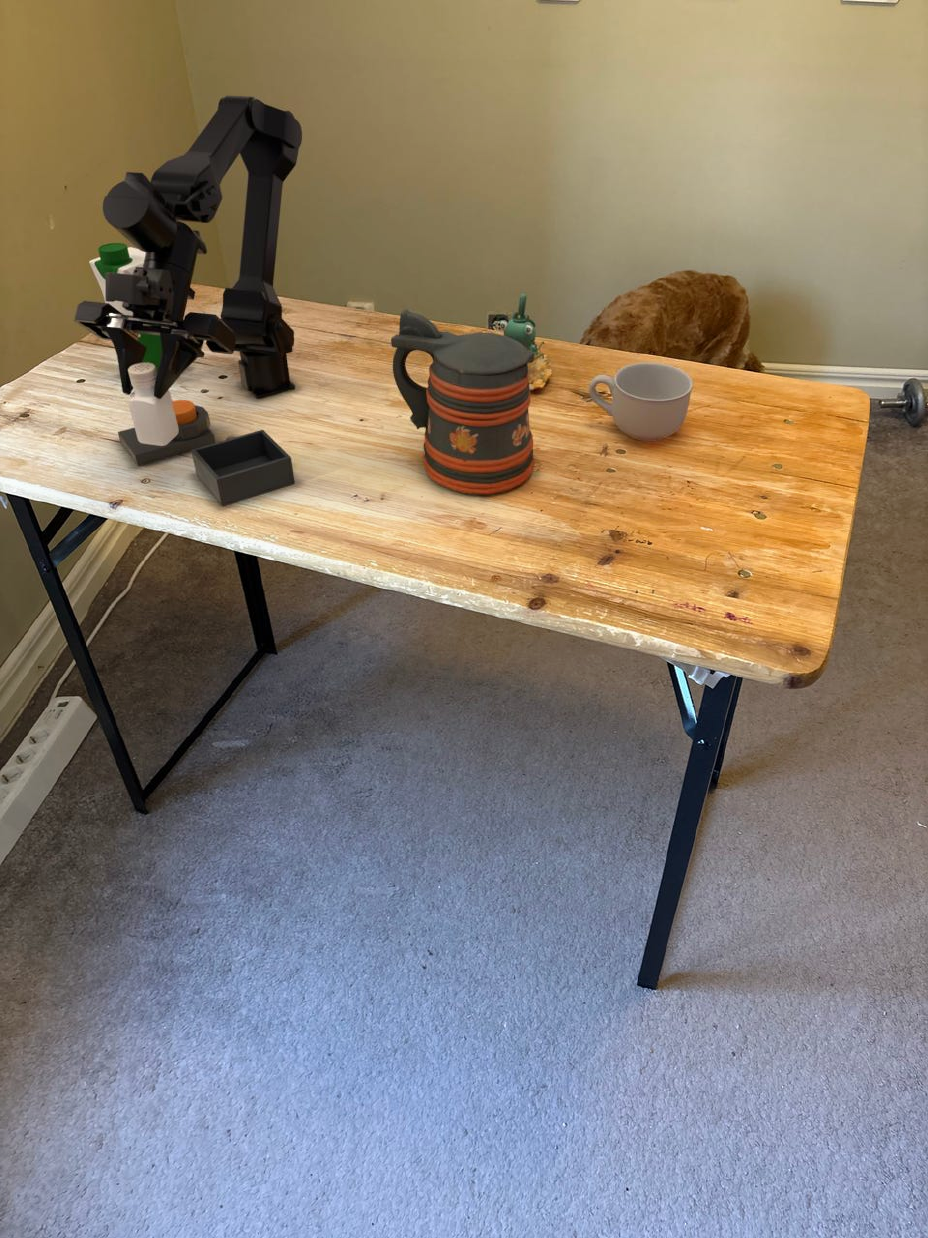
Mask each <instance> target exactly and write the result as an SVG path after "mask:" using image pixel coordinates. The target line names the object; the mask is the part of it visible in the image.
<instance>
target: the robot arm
mask: <svg viewBox="0 0 928 1238" xmlns="http://www.w3.org/2000/svg"><path fill="white" fill-rule="evenodd" d="M302 142H303V131H302V126H301V123H300V121H299V120H298V119H296V118H295V116H294V114H293V113H292V112H291V111H289V110H283V109H280V108H278V107H274V106H271V105H269V104H266V103H264V102H263V101H261V100H260V99H257V98H255V97H254V96H249V95H248V96H245V95H225V96H224V97H223V96H222V97H221V98H220V99H219V101H218V106H217V110H216V111H215V112H214V114H213V115H212V117H211V118H210V120H209V121H208V122H207V124H205V126H204V128H203V129H202V131H201V132H200V134H199V135H198V136H197V137H196V139H195V140H194V142H193V143H192V145H191V146H190V147H189V148H188V150H187V151H186V152H185V153H184V154H182V155H179V156H177V157H174V158H171V159H168V160H167V161H165V162H164V163H163V164H162V165H160V167H158V168H157V169H155V171H154V172H153V174H152V176H151V178H150V179H149V178H148V177H147V176H146V175H145V173H143V172H139V171H138V172H137V171H126V172H125V177H124V180H122V181H121V182H118V183H116V184H115V185H114V186H113V187H112V188H111V189H110V190H109V191H108V192H107V195H105V196H104V198H103V202H102V214H103V216H104V218H105V220H106V221H107V223H108V224H109V225H111V226H112V227H113V228H114V229H115V230H116V231H117V232H118V233H119V234H121V236H123V237H124V238H125V239H126V240H127V241H128V242H129V243H130V244H131V245H133V247H134V248H136V249H139V250H140V251H143V252H146V254H145V259H144V264H143V267H136V268H135V269H134V270H133V275H130V274H120V273H110V272H105V300H104V302H100V301H90V300H83V301H81V302H80V303H78V304H77V307H76V309H75V313H74V318H73V322H75V323H76V324H78V325H79V326H81V327H82V328H83V329H84V330H87V332H89V333H91V334H93V335H94V336H96V338H98V339H101V340H104V341H111V342H112V344H113V347H114V351H115V355H116V359H117V364H118V371H119V378H120V384H121V391H122V392H123V394H125V395H126V396H130V395H131V394H132V393H133V391H134V388H133V386H132V384H131V379H130V377H129V373H128V369H129V367H130V366H132V365H134V364H138V363H142V362H143V359H144V356H145V353H146V350H147V347H146V346H144V345H143V344H141V343H140V342H139V341H138V338H139V337H138V336H139V333H143V334H152V335H160V337H161V344H162V354H161V359H160V363H159V368H158V372H157V377H156V381H155V388H154V397H156V398H157V399H161V398H162V397H163V396H164V395H165V393H166V392H167V391H170V389H171V388H172V386H173V385H174V384H175V382H176V381H177V380H178V379H179V378H180V376H181V375H182V374H183V373H184V372H185V371H186V370H187V369H188V368H189V367H190V366H191V365H192V364H193V363H194V362H195V361H196V360H197V359H198V358H200V359H201V358H204V357H205V354H206V353H205V351H203V346H204V341H205V345H206V347H207V348H208V349H209V351H210V352H211V353H215V354H223V355H233V354H234V352H239V356H240V359H238V361H237V365H238V371H239V376H240V377H239V378H240V384H241V386H242V387H243V389H245V390H246V391H247V392H249V393H250V394H251V395H252V396H253V397H254V398H255V399H261V398H265V397H269V396H272V395H273V396H274V395H277V394H280V393H285V392H288V391H292V390H295V389H296V385H295V384H294V382H292V381H291V377H290V369H289V362H288V355H287V354H291V353H292V352H294V351H293V350H294V349H293V347H294V346H295V331H294V329H292V327H291V326H290V325H289V324H288V323H287V322H286V321H285V319H283V305H282V303H281V301H280V299H279V296H278V295H277V292H276V290H275V288H274V280H275V279H274V278H275V270H276V269H275V268H276V260H277V259H276V258H277V248H278V237H279V228H280V217H281V206H282V197H283V196H282V195H283V185H284V182H285V181H286V179H287V178H288V177H289V175H290V173H291V172H292V171H293V170H294V168H295V167H296V165H297V162H298V156H299V151H300V147H301V145H302ZM239 155H240V157H241V160H242V162H243V164H244V167H245V169H246V171H247V182H246V183H247V185H246V193H245V194H246V195H245V205H244V206H245V207H244V217H243V230H242V239H241V250H240V262H239V271H238V279H237V281H236V282H234V284H233V286H232V287H225V289H224V290H223V293H222V307H221V311H220V316H218V315H216V314H215V313H214V314H212V313H205V312H195V311H190V312H188V313H186V309H187V304H188V300H193V301H194V300H195V295H196V291H195V290H194V289H193V288H192V287H191V285H192V280H193V276H194V272H195V267H196V262H197V257H198V254H199V255H206V254H207V253H208V250H207V246H206V243H205V242H204V241H203V239H202V237H201V232H200V231H199V230H194V229H192V228H191V227H190V226H189V225H188V224H187V223H185V222H189V223H201V224H202V223H203V224H208V223H210V222H212V220H214V218H215V216H216V214H217V212H218V209H219V207H220V205H221V202H222V200H223V193H222V188H221V184H222V181H223V179H224V178H225V176H226V174H227V173H228V171H229V170H230V169H231V167H232V166H233V164H234V163H235V161H236V159H237V158H238V157H239ZM105 301H108V302H114V301H121V302H123V303H122V307H123V308H125V309H126V310H127V311H131V312H133V316H130V315H123V314H122V313H121V312H119V311H118V310H117V309H115V308H114V307H113V306H111V305H110V304H109V303H105ZM185 314H186V315H185ZM143 325H146V326H143Z"/></svg>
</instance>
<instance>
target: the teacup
mask: <svg viewBox="0 0 928 1238" xmlns="http://www.w3.org/2000/svg"><path fill="white" fill-rule="evenodd" d="M599 384H604V385H606V386H607V387H608V389H609V394H610V396H611V402H609V401H608V400H605V399H604V398H602V397H601V396H600V395H599V394H598V392H597V390H596V388H597V386H598V385H599ZM693 389H694V381H693V379H692V377H691V375H689V374H688V373H687V372H686V371H684V370H682V369H681V368H678V367H676V366H674V365H670V364H668V363H667V364H666V363H663V362H653V361H651V362H650V361H649V362H647V361H644V362H643V361H642V362H635V363H632V364H631V363H630V364H628V365H624V366H622V367H621V368H620V369H618V370H617V371H616V373H615V374H614V377H613V378H612V377H611V376H610V375H607V374H598V375H595V376H594V377H593V378H592V379H591V380H590V382H589V384H588V395H589V397H590V399H591V400H592V402H593V403H594V404H596V405H597V406H598V407H600V408H601V409H603V411H606V414H607V415H608V416H609V417H612V421H613V422H614V424H615V426H616V427H617V428H618V429H619V430H621V431H622V433H624V434H625V435H626V436H628V437H630V438H632V439H634V440H637V441H642V442H657V441H660V440H663V439H666V438H667V437H669V436H672V435H673V434H675V433H676V432H678V431H679V430H680V429H681V427H682V426H683V425H684V423H685V421H686V417H687V414H688V410H689V406H690V401H691V394H692V391H693Z"/></svg>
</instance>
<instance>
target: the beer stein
mask: <svg viewBox="0 0 928 1238" xmlns="http://www.w3.org/2000/svg"><path fill="white" fill-rule="evenodd" d="M398 328H399V329H398V330H399V331H398V333H397V334H395V335H393V336H392V337H391V338H390V343H391V347H392V348H395V352H394V354H393V358H392V374H393V378H394V382H395V384H396V387H397V389H398V391H399V393H400V395H401V396H402V398H403V401H404V402H405V403H406V405H407V406H408V408H409V410H410V411H411V416H409V420H410V422H411V423H412V424H413V425H414V426H415V427H416V429H417V430H420V428H424V429H425V430H424V437H423V438H424V443H423V452H424V454H423V466H424V467H423V468H424V470H425V471H426V474H427V475H428V477H429V478H430V479H431V480H432V481H433V483H436V484H437V485H439V486H441V487H443V488H446V489H447V490H451V491H454V492H458V493H462V494H468V495H475V496H486V495H496V494H500V493H504V492H508V491H510V490H512V489H516V488H518V487H519V486H521V485H522V484H524V483H525V482H527V481H528V479H529V478H530V477H531V476H532V474H533V472H534V471H533V470H534V468H535V461H534V459H535V458H534V449H533V448H534V436H533V433H532V431H531V429H530V414H529V413H530V411H529V407H530V405H531V400H532V399H531V391H530V388H529V380H528V365H527V364H528V363H531V362H533V361H534V352H528V350H527V349H526V348H525V346H523V345H522V344H521V343H519V342H518V341H516V340H514V339H512V338H509V337H507V336H504V334H503V335H502V334H499V333H493V332H473V333H472V332H471V333H464V334H459V335H457V334H455V333H453V332H451V331H450V332H449V331H441V330H438V328H437V326H436V325H435V324H434V323H433V322H432V321H431V320H430V319H428V318H426V317H425V316H424V315H422V314H419V313H416V312H412V311H409V310H408V309H403V310H402V312H401V313H400V317H399V327H398ZM414 351H420V352H424V353H426V354H428V355H429V356H430V357H431V359H432V363H431V364H430V365H429V368H428V374H429V376H428V379H427V386H422V385H420V384H419V383H417V382H416V381H415V380H413V379H412V378H411V377H410V375H409V373H408V371H407V367H406V366H407V365H406V362H407V357H408V356H409V354H410V353H412V352H414Z"/></svg>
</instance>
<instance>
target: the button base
mask: <svg viewBox="0 0 928 1238" xmlns="http://www.w3.org/2000/svg"><path fill="white" fill-rule="evenodd" d="M194 405H195V409H196V414H197V418H196V419H195V420H194V421H192V422H190V423H186V424H182V425H178V429H179V432H178V434H177V435H176V436H175V437H174V438H173V439H172V440H171V441H170V442H169V443H168V444H167V445H165V446H158V445H150V444H143V443H140V442H139V441H138V438H137V434H136V431H135V427H131V428H128V429H124V430H123V429H122V430H120V431H117V435H118V438H119V442H120V444H121V445H122V447H123V449H125V451H126V452H127V454H128V455H129V456H130V457H131V460H132V461H133V462H134V463H135V465H136V466H137V467H140V466H143V465H147V464H152V463H154V462H158V461H161V460H165V459H168V458H172V457H174V456H175V457H176V456H179V455H183V454H186V453H189V452H190V453H191V450H193V449H196V448H200V447H203V446H207V445H210V444H214V443H216V439H215V434H214V433H213V431H212V430H211V429H210V426H211V421H210V416H209V412H208V411H207V410H206V409H205V407H203V406H201V405H196V404H194Z"/></svg>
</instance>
